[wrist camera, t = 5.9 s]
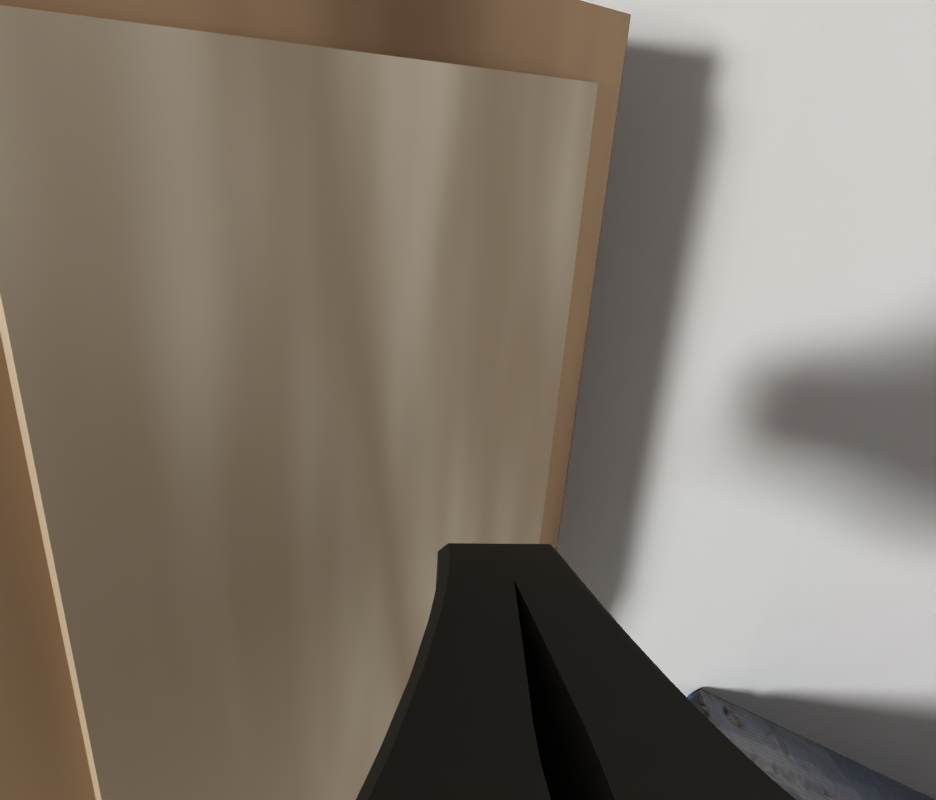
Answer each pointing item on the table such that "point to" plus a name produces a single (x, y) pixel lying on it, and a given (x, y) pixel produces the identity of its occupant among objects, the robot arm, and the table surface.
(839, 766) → the vhs cassette tape
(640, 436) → the table surface
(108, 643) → the tan wooden block
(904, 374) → the table surface
